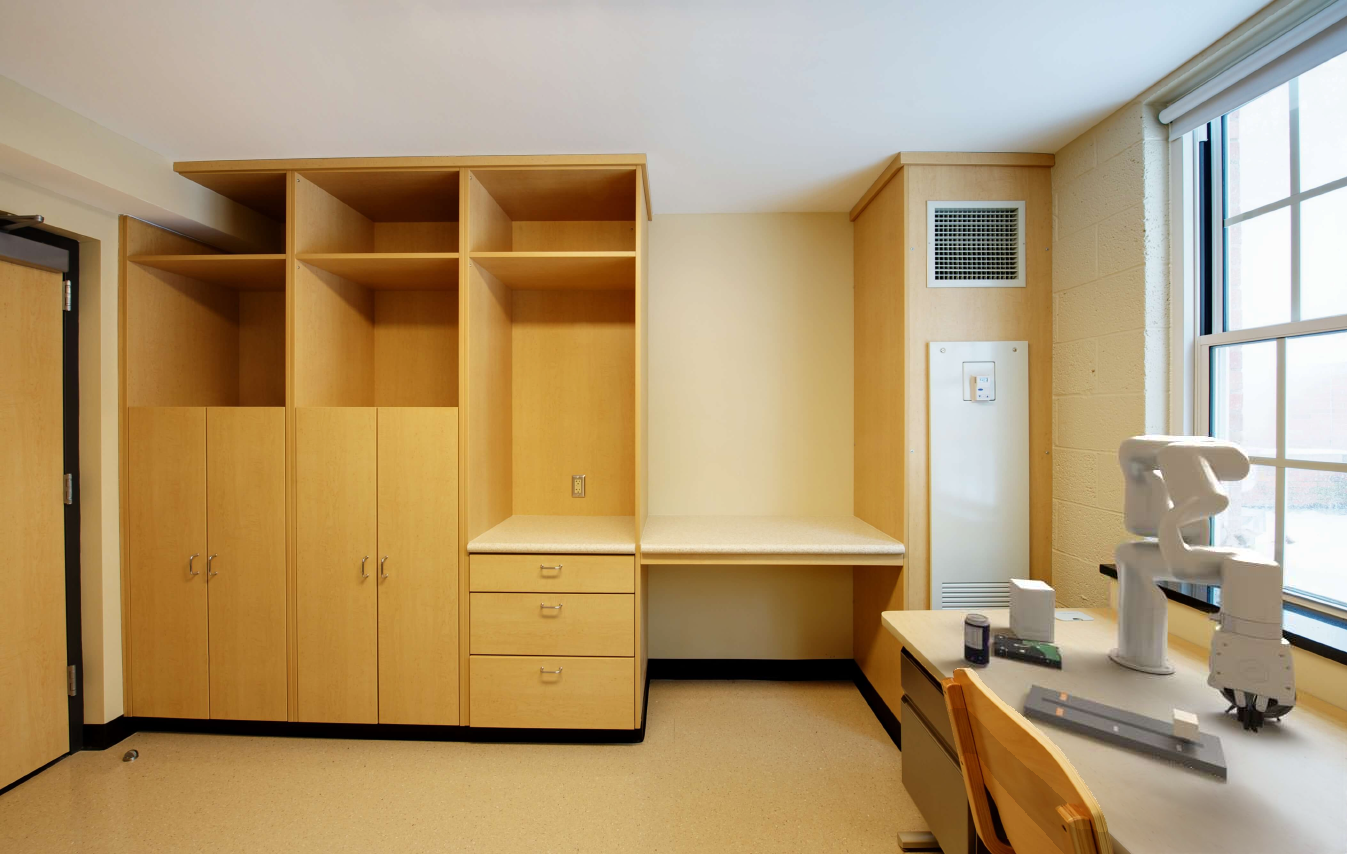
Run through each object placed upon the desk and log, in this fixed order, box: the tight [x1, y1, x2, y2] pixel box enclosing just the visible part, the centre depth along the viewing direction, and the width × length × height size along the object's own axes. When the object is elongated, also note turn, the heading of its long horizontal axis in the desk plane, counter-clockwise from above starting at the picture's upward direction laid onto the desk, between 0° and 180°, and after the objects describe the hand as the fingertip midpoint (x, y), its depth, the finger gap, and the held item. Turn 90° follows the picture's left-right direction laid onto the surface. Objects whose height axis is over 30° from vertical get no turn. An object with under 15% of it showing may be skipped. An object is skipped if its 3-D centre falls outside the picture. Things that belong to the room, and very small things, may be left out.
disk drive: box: [993, 634, 1063, 670], centre depth 140 cm, size 10×3×15 cm
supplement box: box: [1008, 578, 1056, 643], centre depth 153 cm, size 9×9×15 cm
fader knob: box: [1172, 708, 1199, 742], centre depth 100 cm, size 4×3×4 cm
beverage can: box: [963, 613, 991, 668], centre depth 136 cm, size 6×6×12 cm
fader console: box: [1023, 683, 1228, 780], centre depth 107 cm, size 12×30×2 cm, turn 48°
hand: (1249, 728), depth 94 cm, fingers closed
